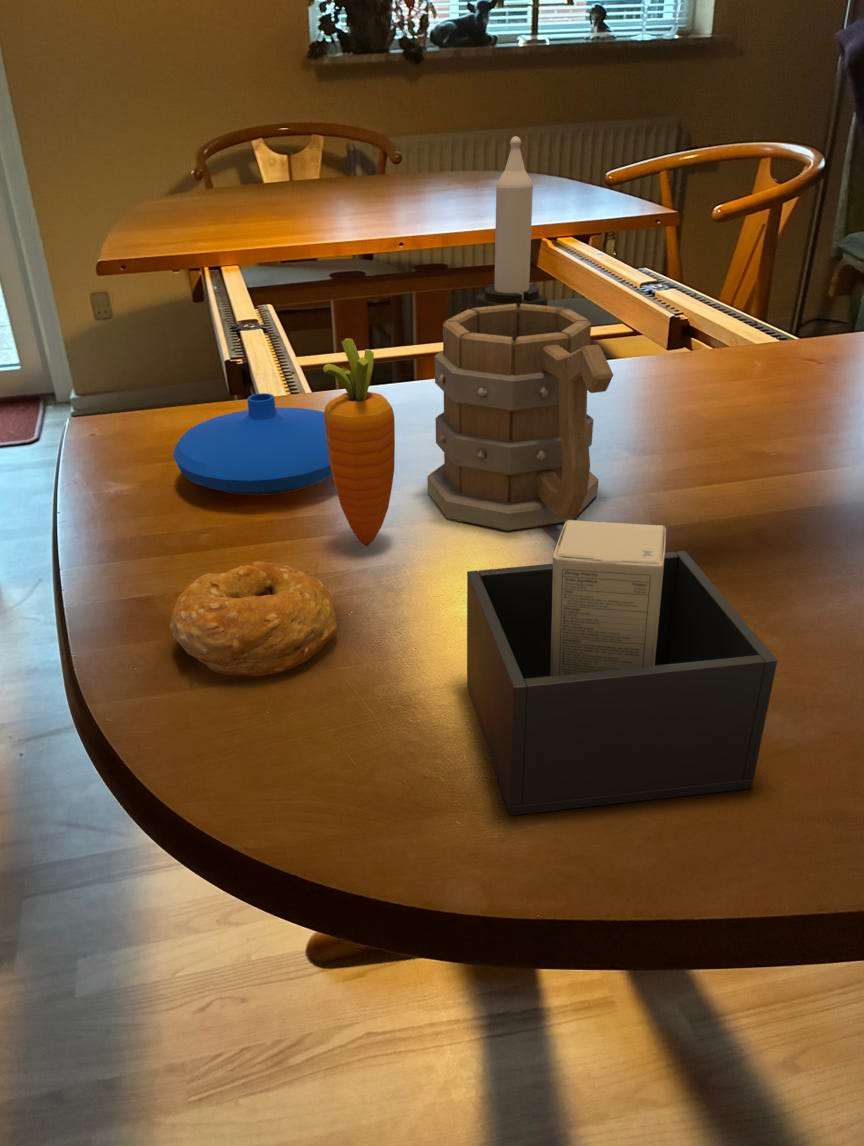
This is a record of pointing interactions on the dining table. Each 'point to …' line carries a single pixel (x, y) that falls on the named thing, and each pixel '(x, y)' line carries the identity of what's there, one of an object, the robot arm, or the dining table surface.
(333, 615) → the bagel
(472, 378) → the tankard
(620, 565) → the box
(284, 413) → the vase
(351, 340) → the carrot
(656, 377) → the dining table surface
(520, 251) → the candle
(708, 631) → the bin
